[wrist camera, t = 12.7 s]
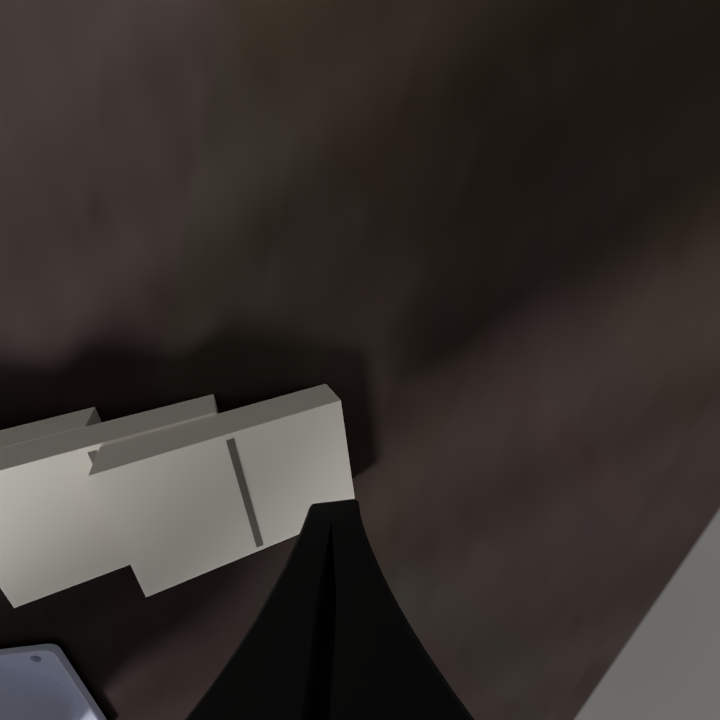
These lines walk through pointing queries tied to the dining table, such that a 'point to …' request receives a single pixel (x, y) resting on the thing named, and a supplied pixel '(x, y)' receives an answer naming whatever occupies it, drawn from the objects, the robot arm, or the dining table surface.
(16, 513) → the domino
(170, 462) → the domino
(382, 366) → the dining table surface
